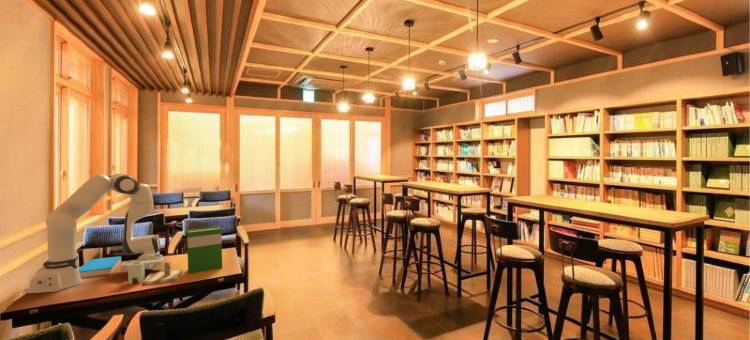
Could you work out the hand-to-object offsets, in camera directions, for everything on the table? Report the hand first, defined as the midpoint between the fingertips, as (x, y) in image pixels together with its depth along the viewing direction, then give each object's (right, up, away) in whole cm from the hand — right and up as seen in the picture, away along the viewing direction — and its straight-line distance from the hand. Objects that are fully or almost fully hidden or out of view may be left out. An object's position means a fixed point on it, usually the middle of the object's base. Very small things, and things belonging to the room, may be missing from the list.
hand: (138, 268), depth 186 cm
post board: (+13, -5, +1) cm, 14 cm away
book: (-35, -6, +16) cm, 38 cm away
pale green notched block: (+2, -6, -4) cm, 7 cm away
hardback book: (+29, -5, +15) cm, 33 cm away
